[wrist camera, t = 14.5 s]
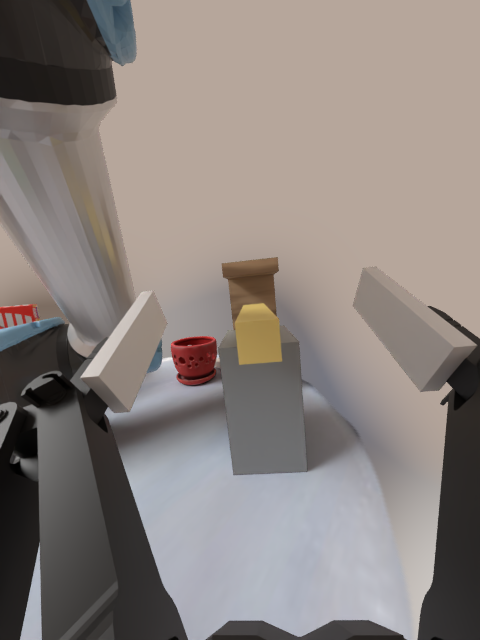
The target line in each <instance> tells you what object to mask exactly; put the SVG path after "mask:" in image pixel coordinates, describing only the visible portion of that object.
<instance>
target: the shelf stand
mask: <svg viewBox="0 0 480 640" xmlns="http://www.w3.org/2000/svg"><path fill="white" fill-rule="evenodd" d="M222 271H223V277H224V278H226V279H228V282H229V290H230V300H231V310H232V319H233V328H234V330H235V321H236V319H237V317H238V315H239V313H240V311H241V309H242V307H243V305H249V304H260V303H264V304H265V305H266V306H267V307H268V308H269V309H270V310H271V311H272V312H273V313H274V314H275V315H276V303H275V289H274V277H273V275H274V274H275V273H277V272H278V271H279V269H278V258H277V257H276V258H267V259H258V260H249V261H240V262H231V263H222ZM276 316H277V315H276Z"/></svg>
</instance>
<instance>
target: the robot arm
mask: <svg viewBox="0 0 480 640" xmlns="http://www.w3.org/2000/svg"><path fill="white" fill-rule="evenodd" d="M135 58H136V36H135V29H134V22H133V15H132V8H131V2H130V0H0V225H1V226H2V228H3V229H4V231H5V232H6V233H7V235H8V236H9V238H10V239H11V240H12V242H13V243H14V245H15V246H16V247H17V249H18V250H19V252H20V253H21V254H22V256H23V257H24V259H25V260H26V261H27V263H28V264H29V266H30V267H31V269H32V270H33V271H34V273H35V274H36V276H37V277H38V278H39V280H40V281H41V283H42V284H43V285H44V287H45V288H46V290H47V291H48V292H49V294H50V295H51V297H52V298H53V299H54V301H55V302H56V304H57V305H58V306H59V308H60V309H61V311H62V312H63V313H64V315H65V316H66V318H67V319H68V320H69V322H70V324H65V322H64V321H63V320H62V318H60V317H55V318H51V319H45V320H40V321H36V322H31V323H26V324H22V325H17V326H13V327H8V328H3V329H0V640H20V636H21V631H22V626H23V621H24V617H25V612H26V607H27V602H28V597H29V592H30V587H31V582H32V577H33V572H34V567H35V562H36V557H37V552H38V547H39V542H40V570H41V616H42V640H188V638H187V635H186V633H185V630H184V627H183V624H182V621H181V618H180V615H179V613H178V610H177V608H176V606H175V604H174V602H173V600H172V598H171V597H170V595H169V594H168V593H167V591H166V590H165V588H164V586H163V584H162V581H161V578H160V575H159V572H158V569H157V566H156V563H155V560H154V557H153V554H152V551H151V548H150V545H149V542H148V539H147V536H146V533H145V530H144V527H143V524H142V521H141V518H140V514H139V511H138V508H137V505H136V502H135V499H134V496H133V493H132V490H131V487H130V484H129V481H128V478H127V475H126V472H125V469H124V466H123V463H122V460H121V457H120V454H119V451H118V448H117V445H116V442H115V439H114V436H113V433H112V429H111V426H110V423H109V420H108V418H107V416H106V415H105V414H104V413H105V411H106V409H107V407H109V408H110V409H111V410H112V411H113V412H114V413H121V412H130V410H131V408H132V405H133V403H134V401H135V398H136V396H137V394H138V391H139V389H140V387H141V384H142V382H143V380H144V377H145V375H146V373H149V372H153V371H156V370H157V369H158V368H159V367H160V365H161V362H162V348H161V347H162V338H161V337H162V335H163V333H164V330H165V328H166V325H167V321H166V319H165V316H164V314H163V312H162V309H161V307H160V305H159V303H158V301H157V298H156V296H155V293H154V291H144V292H142V293H141V294H140V295H139V297H138V298H137V299H136V297H135V293H134V288H133V284H132V279H131V275H130V270H129V265H128V261H127V257H126V252H125V247H124V243H123V238H122V234H121V230H120V225H119V220H118V215H117V211H116V207H115V202H114V197H113V193H112V188H111V184H110V179H109V175H108V170H107V165H106V161H105V157H104V152H103V148H102V143H101V139H100V134H99V126H100V123H101V121H102V120H103V119H104V118H105V116H106V115H107V114H108V113H109V112H110V110H111V109H112V108H113V107H114V106H115V104H116V103H117V95H116V90H115V83H114V77H113V71H112V61H115V62H116V63H118V64H120V65H121V66H124V65H125V64H126V63H132V62H133V61H134V60H135ZM353 307H354V308H355V309H356V310H357V312H358V313H359V314H360V315H361V317H362V318H363V319H364V320H365V322H366V323H367V324H368V325H369V327H370V328H371V329H372V331H373V332H374V333H375V334H376V336H377V337H378V338H379V340H380V341H381V342H382V343H383V345H384V346H385V347H386V348H387V350H388V351H389V352H390V354H391V355H392V356H393V357H394V359H395V360H396V361H397V362H398V364H399V365H400V366H401V368H402V369H403V370H404V371H405V373H406V374H407V375H408V376H409V378H410V379H411V380H412V381H413V383H414V384H415V385H416V387H417V388H418V389H419V390H420V391H421V392H423V391H437V390H440V389H441V388H442V386H443V385H444V384H445V383H446V382H448V384H449V385H450V386H451V387H452V388H453V389H452V390H451V391H450V392H449V393H448V395H447V396H446V397H445V398H444V399H443V400H442V401H441V403H440V404H441V405H444V404H445V403H446V402H448V413H447V424H446V436H445V447H444V459H443V471H442V482H441V494H440V506H439V517H438V529H437V540H436V552H435V564H434V575H433V582H432V585H431V587H430V589H429V591H428V592H427V594H426V595H425V597H424V600H423V603H422V608H421V614H420V622H419V632H418V640H480V339H479V338H478V337H477V336H475V335H474V334H472V333H471V332H470V331H468V330H467V329H466V328H464V327H463V326H462V327H461V325H460V324H459V323H458V322H456V321H455V320H453V319H452V318H451V317H450V316H448V315H447V314H446V313H444V312H442V311H440V310H438V309H436V308H434V307H431V306H426V305H425V304H424V303H422V302H421V301H420V300H418V299H417V298H416V297H415V296H413V295H412V294H411V293H409V292H408V291H407V290H405V289H404V288H403V287H402V286H400V285H399V284H398V283H396V282H395V281H394V280H393V279H391V278H390V277H389V276H387V275H386V274H385V273H384V272H382V271H381V270H379V269H378V268H377V267H369V268H363V270H362V274H361V278H360V281H359V285H358V288H357V292H356V296H355V300H354V303H353ZM64 324H65V325H64ZM206 640H406V639H404V637H403V635H401V634H399V633H397V632H394V631H392V630H390V629H387V628H385V627H383V626H381V625H378V624H376V623H374V622H371V621H369V620H333V621H331V622H330V623H328V624H326V625H324V626H322V627H320V628H318V629H316V630H314V631H312V632H310V633H308V634H306V635H304V636H302V637H297V636H295V635H292V634H290V633H288V632H286V631H284V630H282V629H279V628H277V627H275V626H273V625H271V624H268V623H266V622H264V621H228V622H227V623H226V624H225V625H224V626H223V627H221V628H220V629H219V630H218V631H216V632H215V633H213V634H212V635H211V636H210V637H208V638H207V639H206Z"/></svg>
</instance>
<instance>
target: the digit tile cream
mask: <svg viewBox="0 0 480 640" xmlns="http://www.w3.org/2000/svg"><path fill="white" fill-rule="evenodd" d="M214 367H217V368H221V367H220V359H219V358H218V359H216V363H215V366H214Z"/></svg>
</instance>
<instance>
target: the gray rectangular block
mask: <svg viewBox="0 0 480 640" xmlns="http://www.w3.org/2000/svg"><path fill="white" fill-rule="evenodd" d="M279 327H280V340H281V353H282V362H269V363H257V364H244V365H239V358H238V349H237V340H236V330H229V331H228V332H227V333H226V336H225V337H224V339H223V341H222V343H221V344H220V346H219V348H218V351H219V359H220V367H221V376H222V384H223V392H224V401H225V409H226V417H227V425H228V434H229V442H230V450H231V458H232V467H233V475H243V474H265V473H288V472H307V459H306V443H305V427H304V411H303V396H302V380H301V364H300V348H299V341H298V340H297V339H296V338H295V337H294V336H293V335H292V334H291V333H290V331H288V329H287V328H286V327H285V326H284V325H283V326H279Z"/></svg>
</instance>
